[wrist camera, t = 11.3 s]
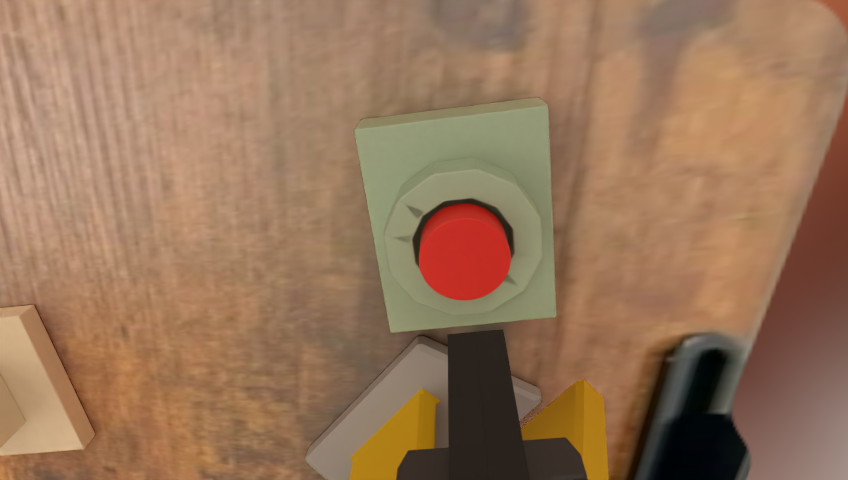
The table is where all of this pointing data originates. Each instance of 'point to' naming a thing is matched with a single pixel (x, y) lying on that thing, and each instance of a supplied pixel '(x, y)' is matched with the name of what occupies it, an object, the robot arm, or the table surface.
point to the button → (464, 252)
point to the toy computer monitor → (442, 419)
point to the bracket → (36, 390)
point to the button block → (461, 183)
